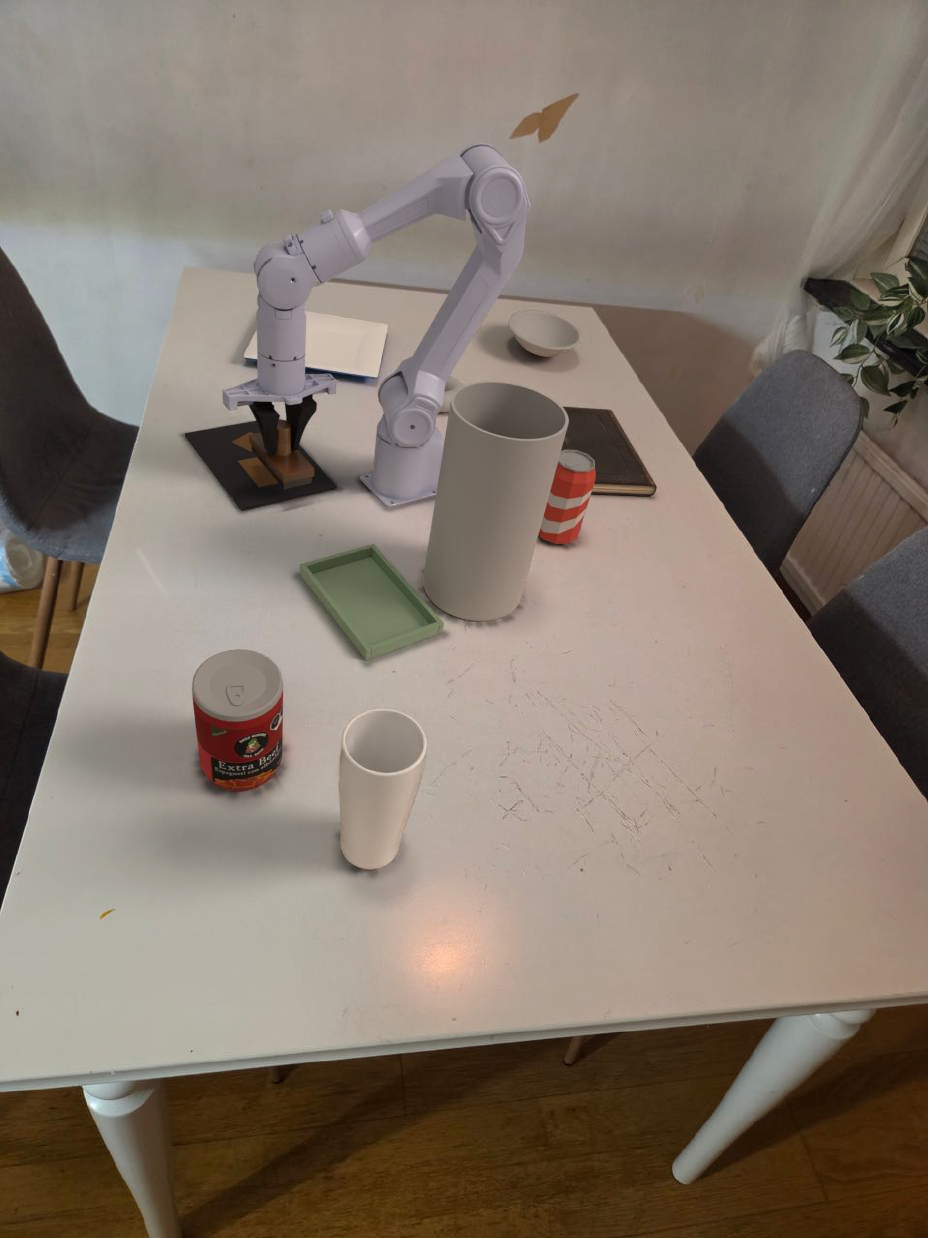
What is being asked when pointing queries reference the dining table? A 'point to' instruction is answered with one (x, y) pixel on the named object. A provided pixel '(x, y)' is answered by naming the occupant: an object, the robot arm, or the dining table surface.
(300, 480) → the brush
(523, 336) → the dish
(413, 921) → the dining table surface
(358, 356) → the plate
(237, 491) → the mat
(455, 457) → the cylinder vase
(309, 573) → the tray
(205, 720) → the canned food
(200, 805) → the dining table surface
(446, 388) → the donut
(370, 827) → the drinking glass
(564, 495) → the beverage can
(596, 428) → the hardcover book
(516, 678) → the dining table surface
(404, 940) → the dining table surface
